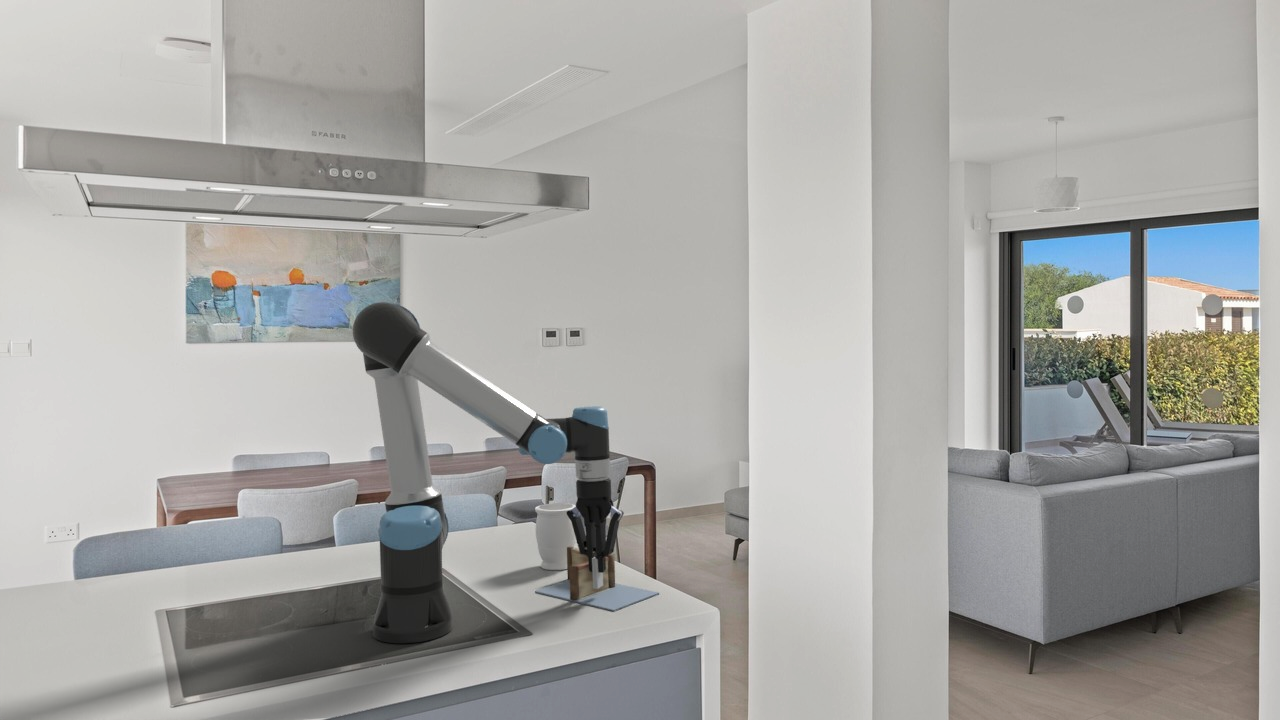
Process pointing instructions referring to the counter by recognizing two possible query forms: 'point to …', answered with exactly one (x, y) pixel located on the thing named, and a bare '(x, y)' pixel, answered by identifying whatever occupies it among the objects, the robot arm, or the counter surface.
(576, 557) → the brown wall panel
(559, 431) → the robot arm
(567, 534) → the jar
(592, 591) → the swing panel
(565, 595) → the card
